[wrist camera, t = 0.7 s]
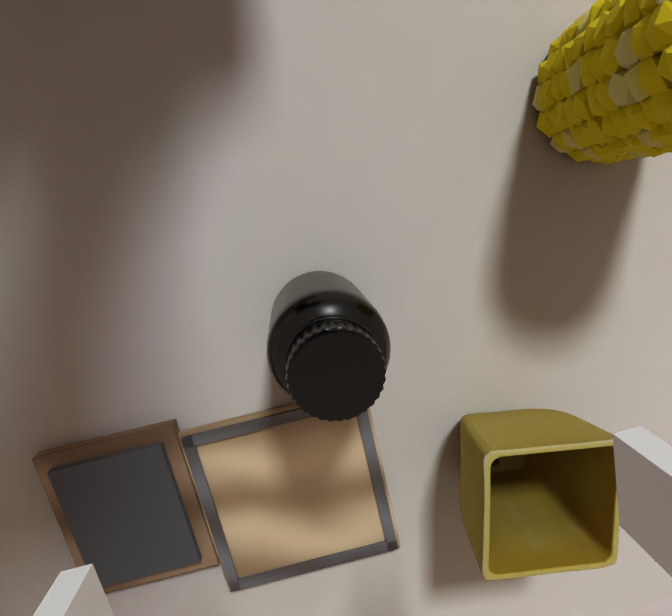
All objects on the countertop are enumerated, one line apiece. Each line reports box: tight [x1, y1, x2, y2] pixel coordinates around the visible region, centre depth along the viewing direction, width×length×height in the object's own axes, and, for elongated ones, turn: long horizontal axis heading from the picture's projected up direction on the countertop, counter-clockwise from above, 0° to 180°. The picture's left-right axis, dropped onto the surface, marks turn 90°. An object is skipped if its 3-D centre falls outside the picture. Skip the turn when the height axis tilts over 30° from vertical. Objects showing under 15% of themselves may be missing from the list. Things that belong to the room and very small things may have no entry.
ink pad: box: [47, 441, 202, 588], centre depth 34 cm, size 10×8×1 cm
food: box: [532, 0, 672, 165], centre depth 25 cm, size 15×12×10 cm
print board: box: [178, 403, 400, 592], centre depth 35 cm, size 14×14×1 cm
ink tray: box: [32, 419, 219, 593], centre depth 35 cm, size 12×10×1 cm
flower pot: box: [460, 409, 619, 580], centre depth 32 cm, size 9×9×9 cm
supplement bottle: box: [267, 271, 390, 422], centre depth 27 cm, size 7×7×12 cm
